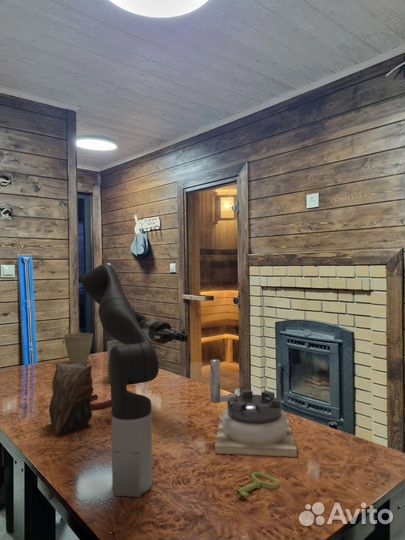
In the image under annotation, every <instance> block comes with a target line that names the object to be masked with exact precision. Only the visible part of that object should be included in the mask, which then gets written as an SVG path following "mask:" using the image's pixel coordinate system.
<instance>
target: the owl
mask: <svg viewBox="0 0 405 540" xmlns="http://www.w3.org/2000/svg"><path fill="white" fill-rule="evenodd" d="M92 368H93V367H92V365H87V364H85V365H84V364H83V363H78V364H71V363H70V364H69V363H68V364H67V363H63V362H57V363H56V364H55V372H54V374H53V377H52V380H51V381H52V388H51V389H52V395H51V397H50V404H49V410H48V412H49V413H48V414H49V417H50V422H51V429H52V430H53V434H54V435H55V437H56V438H59V437H61V436H65V435H69V434H71V433H75V432H78V431H81V430H84V429H88V428H89V427H90V426H91V425H90V424H89V422H90V420H91V418H92V417H93V413H92V411H91V404H92V403H91V402H90V400H91V396H92V395H93V393H94V388H93V379H92V378H93V377H92Z"/></svg>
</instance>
